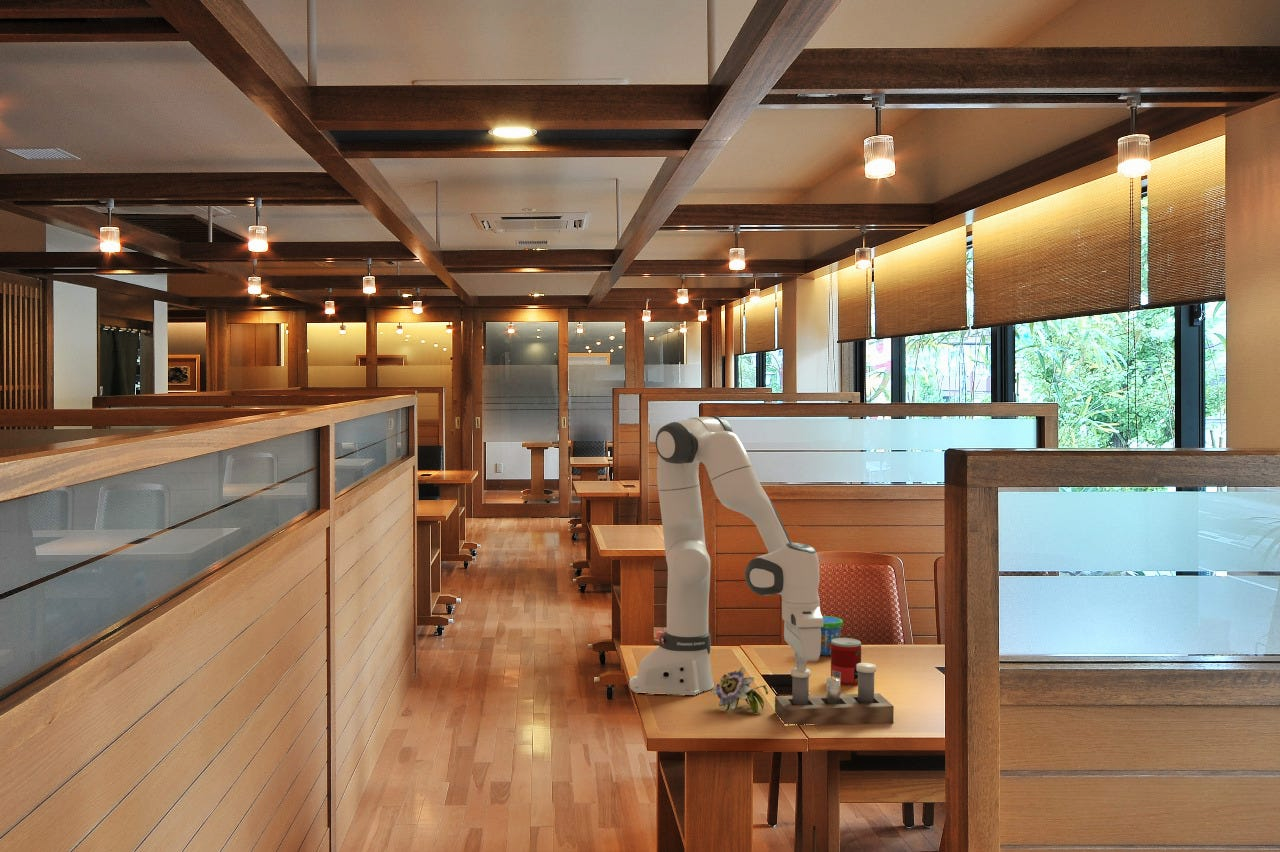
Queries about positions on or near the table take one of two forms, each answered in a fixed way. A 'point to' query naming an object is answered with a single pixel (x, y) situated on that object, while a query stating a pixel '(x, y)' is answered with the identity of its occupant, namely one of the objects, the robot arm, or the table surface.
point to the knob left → (800, 687)
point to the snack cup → (829, 633)
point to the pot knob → (833, 690)
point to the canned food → (845, 660)
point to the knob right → (865, 682)
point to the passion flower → (737, 691)
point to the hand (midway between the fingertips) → (801, 670)
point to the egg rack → (834, 710)
